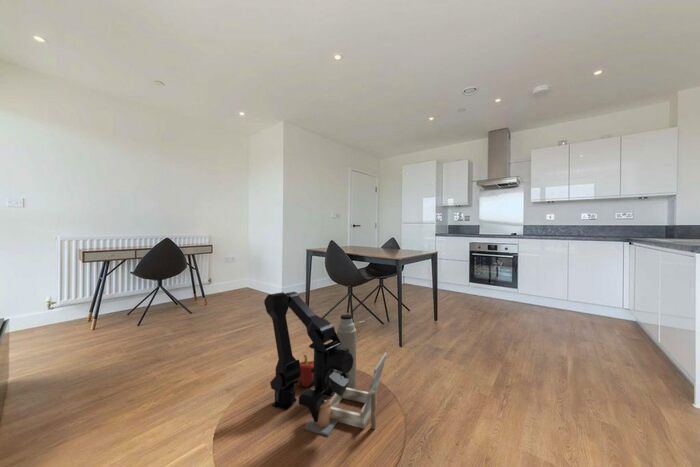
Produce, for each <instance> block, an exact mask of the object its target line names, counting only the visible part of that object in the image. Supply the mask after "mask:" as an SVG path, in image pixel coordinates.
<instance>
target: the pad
mask: <svg viewBox="0 0 700 467" xmlns="http://www.w3.org/2000/svg"><path fill="white" fill-rule="evenodd" d="M338 423H339V422H338V420H337V419H333V418H331V423H330V425H329V426H327V427H325V428H319V427H317V426H316V425H315V421H314V419H313V417H311V419H310V421H309V422H307V424H306V425H305V427H304V429H305V430H306V431H309V432H313V433H317V434H319V435H323V436H327V437H329V436H330V434H331V433H332V432H333V429H335V426H336V425H337V424H338Z"/></svg>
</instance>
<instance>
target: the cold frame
mask: <svg viewBox="0 0 700 467" xmlns="http://www.w3.org/2000/svg"><path fill="white" fill-rule="evenodd" d="M387 355H388V353H387V352H385V353H384V354H383V355H382V357H381V359H380V360H379V362H378V364H377V365H376V366H375V367H374V370H373V374H372V377H371V381H370V385H369V390H368V391H365V390H360V389H356V388H353V389H352V388H346V390H345V391H344V393H343V394H342V395H341V396H339V395H337V394H336V393H335V392H334V395H332V397H331V398H332V404H331V418H333V419H337V420H338V422H337V423H341V424H344V425H348V426H349V425H350V426H353V427H356V428H360V429H365V428H366V426H367V424H368V422H369V420H370V429H372V430H376V427H377V408H376V407H377V403H378V402H377V400H378V398H377V394H378V393H377V391H378V389H379V386H380V382H381V381H380V380H381V377H382V374H383V369H384V366H385V364H386V358H387ZM342 399H345V400H350V401H354V402H359V403H362V404H363V403H364V405H363V406H362V409H361V410H360V413H359V412H356V411H352V410H347V409H345V408H344V409H342V408H339V407H338V405H339V403H340V402H341V401H342Z"/></svg>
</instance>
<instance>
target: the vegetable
mask: <svg viewBox="0 0 700 467" xmlns="http://www.w3.org/2000/svg"><path fill="white" fill-rule="evenodd" d="M303 357H304V361H301V362H300V368H301V376H300V377H299V380H298V383H296V384H295V385H297V386H299V387H302V386H303V387H309V386H311V381H313V372H311V368H313V367H314V360H311V361H308V356H307V355H306V354H304V355H303Z"/></svg>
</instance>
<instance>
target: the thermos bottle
mask: <svg viewBox="0 0 700 467" xmlns="http://www.w3.org/2000/svg"><path fill="white" fill-rule="evenodd" d="M355 326H356V325H355V323H354V322H353V315H352V314H341V315H340V322H339V323H338V326H337V327H338V328H337V329H336V334H337V336H338V337H339V340H340V342H341V345H340V346H339V347H342V348H348V349H349V353H351V354H352V357H353V366H352V368H351V370H350V371H349V372H348V375H349V383H348V385H347V388H352V389H356V387H357V329H356V328H355ZM337 372H339V371H337ZM340 373H342V372H340Z"/></svg>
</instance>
